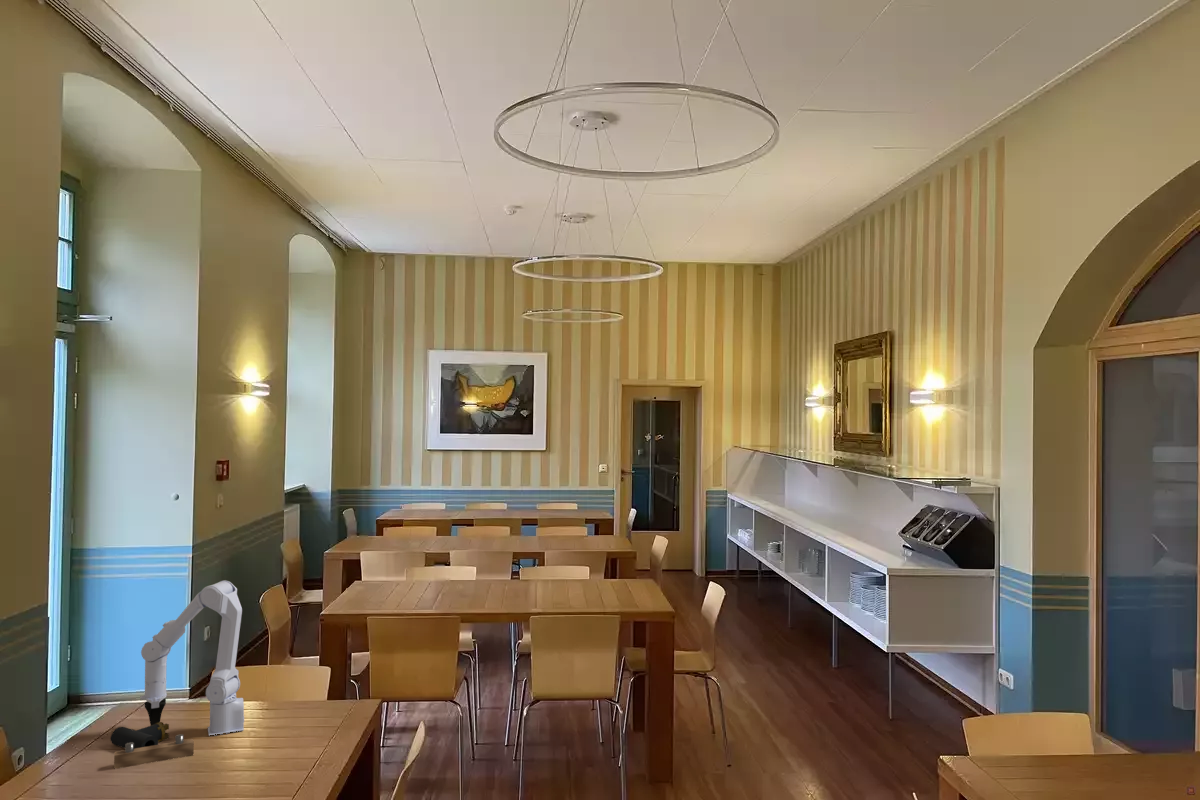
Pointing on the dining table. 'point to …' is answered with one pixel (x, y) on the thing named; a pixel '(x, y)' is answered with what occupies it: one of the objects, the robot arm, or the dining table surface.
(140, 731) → the pipe connector
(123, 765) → the bar
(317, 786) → the dining table surface
